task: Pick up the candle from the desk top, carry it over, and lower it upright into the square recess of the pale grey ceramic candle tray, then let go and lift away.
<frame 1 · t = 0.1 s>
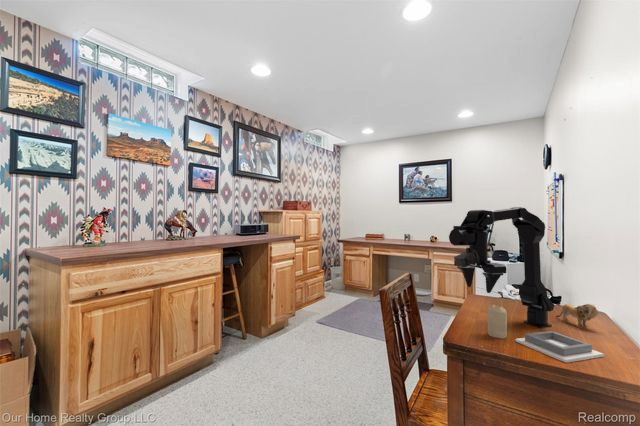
hand: (478, 289, 104), 14 cm above the table, tool pointing down, fingers open, 9 cm apart
candle tray: (557, 348, 90), on the table
candle: (497, 336, 100), on the table
lion figurine: (577, 325, 112), on the table
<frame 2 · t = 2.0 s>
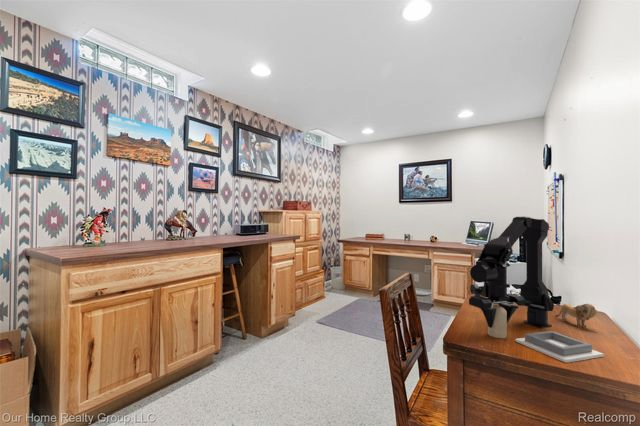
hand: (497, 326, 100), 3 cm above the table, tool pointing down, fingers closed on candle, 5 cm apart
candle: (497, 336, 100), on the table, touching gripper
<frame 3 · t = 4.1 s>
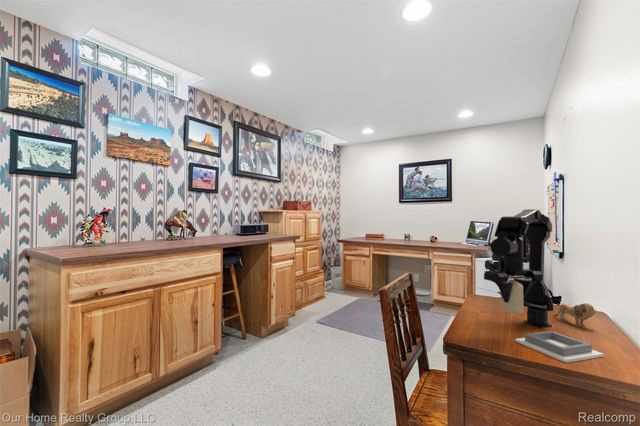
hand: (513, 301, 97), 12 cm above the table, tool pointing down, fingers closed on candle, 5 cm apart
candle: (513, 311, 97), point 9 cm above the table, touching gripper
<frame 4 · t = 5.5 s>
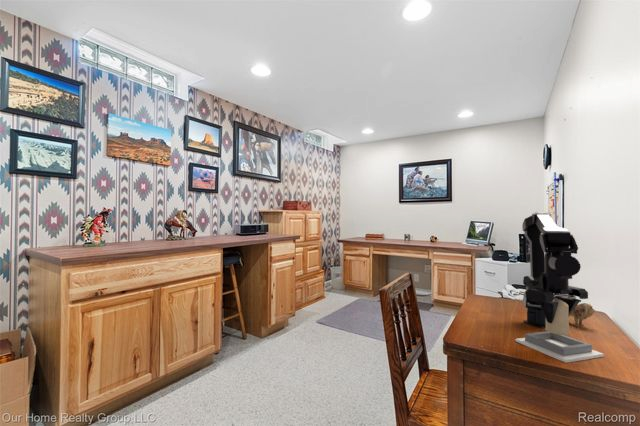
hand: (556, 321, 90), 8 cm above the table, tool pointing down, fingers closed on candle, 5 cm apart
candle: (556, 332, 90), point 5 cm above the table, touching gripper
when the fingers open (5 cm above the table, at t = 6.6 s): candle drops 1 cm, resting on candle tray.
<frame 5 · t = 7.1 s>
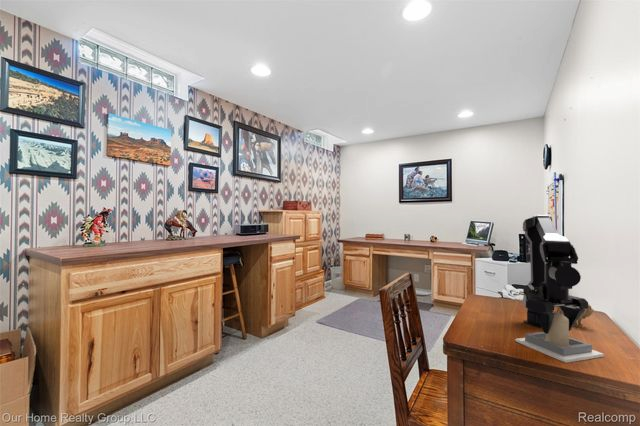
hand: (556, 331, 90), 5 cm above the table, tool pointing down, fingers open, 9 cm apart
candle: (557, 346, 90), point 1 cm above the table, touching candle tray
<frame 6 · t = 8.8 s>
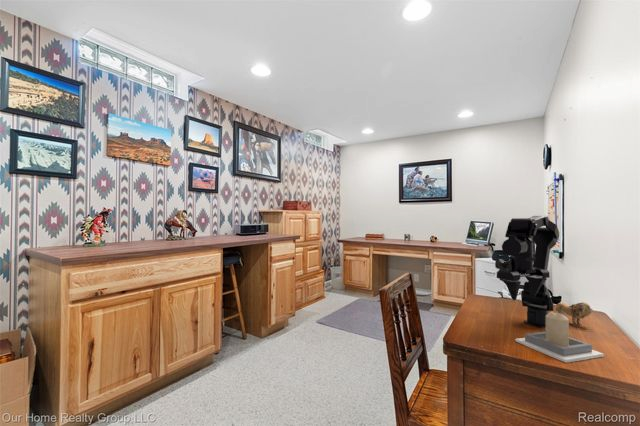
hand: (523, 298, 103), 12 cm above the table, tool pointing down, fingers open, 9 cm apart
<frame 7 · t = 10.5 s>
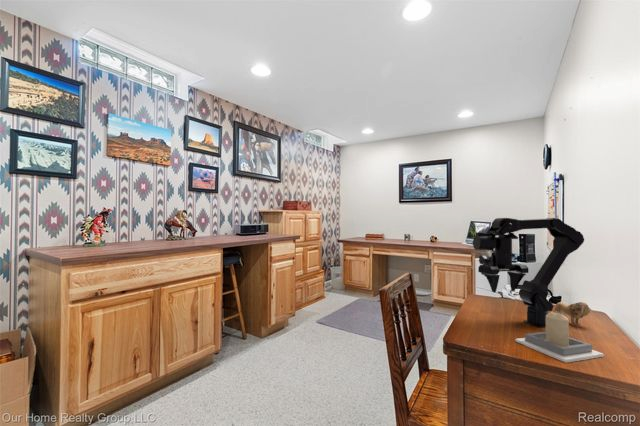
hand: (503, 291, 112), 12 cm above the table, tool pointing down, fingers open, 9 cm apart
at the end: candle 0.1 cm off-centre on the candle tray, point 0.6 cm above the candle tray's base; candle tilted 0°; the gripper is holding nothing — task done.
